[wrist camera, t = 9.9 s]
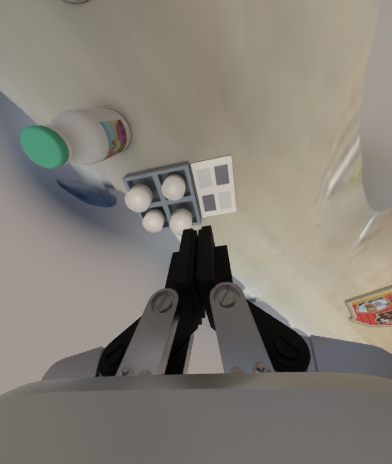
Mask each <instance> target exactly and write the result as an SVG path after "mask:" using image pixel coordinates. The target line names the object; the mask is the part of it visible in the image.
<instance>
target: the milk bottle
mask: <svg viewBox="0 0 392 464" xmlns="http://www.w3.org/2000/svg"><path fill="white" fill-rule="evenodd" d="M130 139H131V133H130V129H129V126H128V124H127V122H126V120H125V119H124V118H123V117H122V116H121V115H120V114H119V113H117V112H116V111H113V110H110V109H75V110H67V111H64V112H62V113H60V114H58V115H57V116H56V117H54V118H53V120H52V121H51V123H50V125H49V126H48V125H40V126H30V127H27V128H25V129H24V130H23V131H22V132H21V135H20V142H21V145H22V148H23V150H24V151H25V153H26V154H27V156H28V157H29V158H30V159H31V160H32V161H33V162H35V163H36V164H38V165H40V166H42V167H45V168H50V169H52V168H57V167H60V166H62V165H65V164H67V163H69V162H73V163H77V164H82V165H89V164H95V163H98V162H100V161H103V160H105V159H107V158H109V157H111V156H113V155H115V154H117V153H119V152H121V151H123V150H124V149H126V148H127V147H128V145H129V143H130Z"/></svg>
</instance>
